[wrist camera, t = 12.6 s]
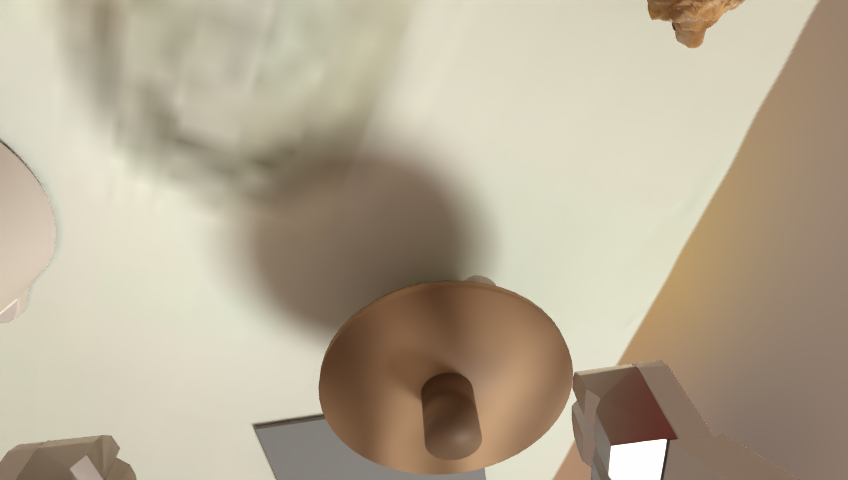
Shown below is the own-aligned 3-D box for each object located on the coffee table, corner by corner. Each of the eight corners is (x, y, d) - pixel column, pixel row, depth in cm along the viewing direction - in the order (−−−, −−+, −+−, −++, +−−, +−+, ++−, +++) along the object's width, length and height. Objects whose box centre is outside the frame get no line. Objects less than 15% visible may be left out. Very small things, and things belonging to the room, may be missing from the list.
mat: (305, 540, 58) (305, 543, 58) (255, 426, 49) (254, 429, 49) (490, 513, 58) (490, 516, 57) (474, 393, 49) (474, 396, 48)
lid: (349, 480, 41) (346, 541, 37) (290, 304, 33) (276, 358, 29) (570, 447, 41) (591, 505, 37) (568, 260, 33) (594, 309, 28)
